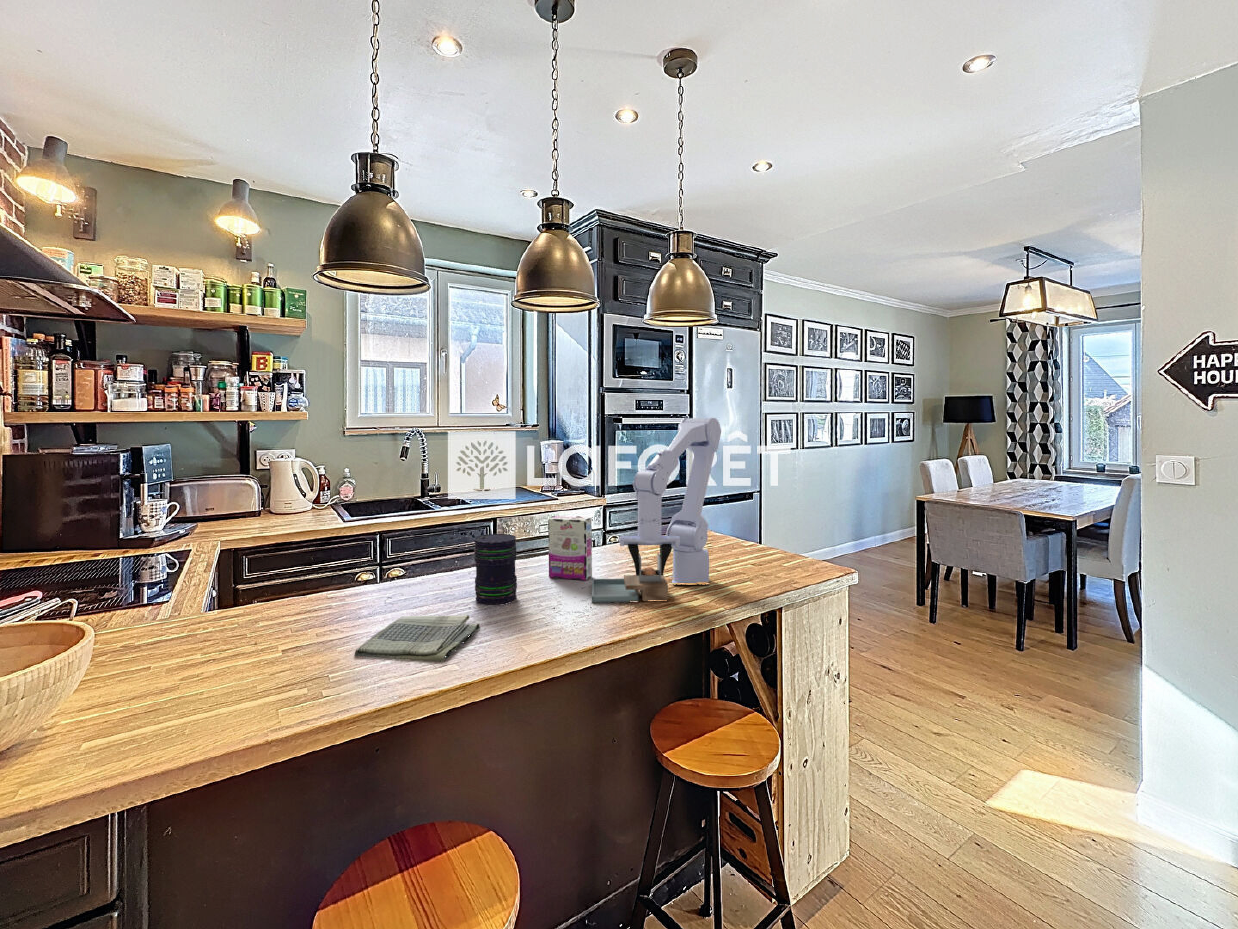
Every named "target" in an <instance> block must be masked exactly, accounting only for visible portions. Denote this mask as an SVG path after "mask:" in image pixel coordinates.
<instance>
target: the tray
mask: <svg viewBox="0 0 1238 929" xmlns="http://www.w3.org/2000/svg"><path fill="white" fill-rule="evenodd" d="M630 601H639V593H638V590H626V588H625V583H624V578H592V579H591V604H610V603H609V602H630Z"/></svg>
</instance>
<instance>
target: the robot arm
mask: <svg viewBox="0 0 1238 929" xmlns="http://www.w3.org/2000/svg"><path fill="white" fill-rule="evenodd" d="M721 435H722V428H721V425H720V422H719V420H718V419H717V418H716V417H710V418H709V417H708V418H706V417H705V418H703V417H702V418H698V417H697V418H696V417H693V418H692V417H684V418H683V419H681V421H680V423H679V424H678V426H677V434H676V435H675V437H674V438H673V440H672V442H670V444H669V446H668V447H667V449H661V450H658V451H657V454H656V455H655V457H653V459H652V460H651V461H650V463H648V465H647V466H646V467H645V469H640V470H639V471H637V472H636V474H635V475H634V478H633V481H632V486H633V490H634V492H635V498H636V500H637V535H627V536H626V535H625V536H619V546H620V547H624V546H627V548H628V552H629V554H630V556H631V558H632V561H633V564H634V569H635V575H636V576H639V554H640V549H639V546H659V555H660V557H661V575H664V572H665V568H666V565H667V564H666V563H667V560H668V558H669V556H670V555H671V553H672V575H669V578H670V577H673V580H672V582H671V584H672V583H697V582H709V583H710V555H709V551H708V549H707V548H705V546H706V544H707V543H708V537H709V536H708V535H709V534H708V528H709V523H708V522H707V520H706V519H705V518H704V517H703V516H702V511H703V506H704V501H705V498H706V493H707V489H708V484H709V480H710V475H711V471H712V467H713V462H714V457H715V453H716V452H717V451H718V448H719V445H720V440H721ZM686 450H688V451H690V452H691V453H692V454H693V459H692V464H691V469H690V471H689V472H690V473H689V476H688V481H687V485H686V490H685V493H684V499H683V502H682V505H681V506H682V508H681V510H680V511H679V512H677V513H675V514H674V515H673V516H671V521H670V523H669V525H668V527H667V529H666V532H665V535H662V514H663V512H662V507H663V506H662V505H663V504H662V502H663V501H662V499H663V498H662V494H663V493H664V492H666V490H667V486H668V483H669V480H670V476H671V475H672V473H673V472H674V471H675V469H676V468H677V467H678V465H679V458H680V457H681V455H683V453H684V452H685V451H686Z"/></svg>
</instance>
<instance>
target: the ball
mask: <svg viewBox="0 0 1238 929" xmlns="http://www.w3.org/2000/svg"><path fill="white" fill-rule="evenodd" d="M643 570H644V571H643V575H656V571H655V570H656V569H654V568H653V567H652V566H646V567H645V568H644V569H643Z"/></svg>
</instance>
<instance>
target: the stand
mask: <svg viewBox="0 0 1238 929" xmlns="http://www.w3.org/2000/svg"><path fill="white" fill-rule="evenodd" d="M623 579H624V583H625V588H626V590H637V591H639V594H640V593H641V594H640V597H641V596H642V598H641V601H642V600H643V601H648V600H668V601H669V584H668V582H667V580H666V578H665V576H664V574H663V575H661V583H639V579H638V576H636V574H635V575H634V574H630V575H629V574H628V575H625V574H624V575H623Z"/></svg>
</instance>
